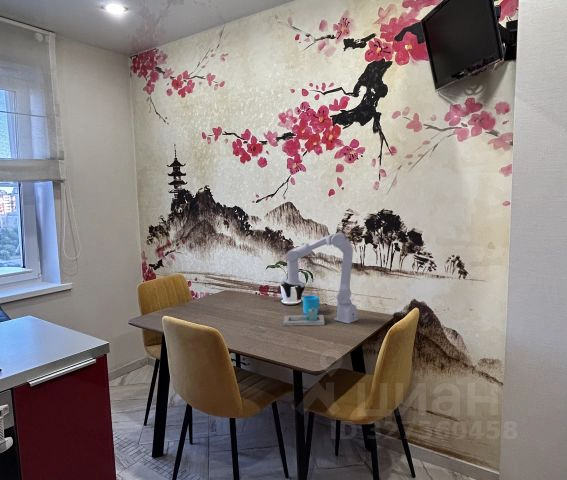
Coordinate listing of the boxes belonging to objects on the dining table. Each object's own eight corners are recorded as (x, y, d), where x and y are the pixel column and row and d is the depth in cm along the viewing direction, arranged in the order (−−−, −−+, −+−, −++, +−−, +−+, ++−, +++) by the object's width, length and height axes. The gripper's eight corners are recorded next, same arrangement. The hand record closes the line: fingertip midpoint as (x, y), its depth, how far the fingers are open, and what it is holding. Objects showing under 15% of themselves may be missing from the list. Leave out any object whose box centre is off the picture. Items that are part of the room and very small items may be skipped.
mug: (312, 315, 211) (312, 300, 210) (300, 312, 216) (299, 297, 215) (325, 309, 220) (324, 295, 219) (313, 307, 225) (312, 293, 224)
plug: (316, 320, 202) (316, 307, 201) (317, 322, 198) (316, 309, 197) (309, 320, 202) (308, 307, 201) (309, 323, 198) (308, 309, 198)
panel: (323, 317, 205) (323, 315, 205) (324, 325, 195) (324, 322, 194) (284, 318, 206) (284, 315, 206) (283, 325, 196) (283, 322, 195)
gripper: (308, 273, 203) (309, 299, 205) (288, 269, 213) (289, 294, 215) (299, 275, 198) (300, 302, 200) (279, 272, 209) (279, 297, 210)
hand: (293, 298), depth 207 cm, fingers open, 7 cm apart
